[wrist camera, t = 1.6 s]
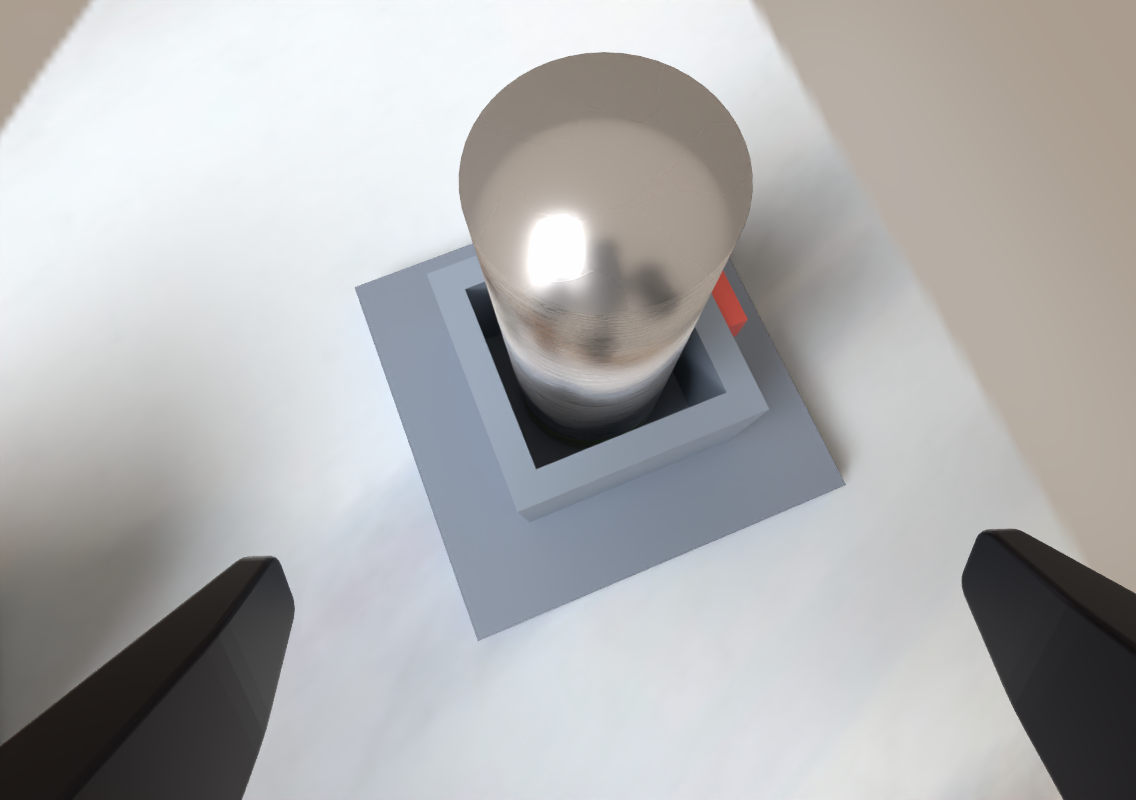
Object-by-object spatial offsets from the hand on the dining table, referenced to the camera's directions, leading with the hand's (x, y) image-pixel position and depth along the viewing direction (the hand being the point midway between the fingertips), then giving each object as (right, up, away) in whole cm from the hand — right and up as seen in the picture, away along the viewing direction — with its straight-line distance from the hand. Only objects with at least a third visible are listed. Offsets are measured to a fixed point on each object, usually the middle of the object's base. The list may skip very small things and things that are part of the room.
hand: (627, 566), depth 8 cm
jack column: (0, +3, +12) cm, 12 cm away
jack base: (0, +2, +13) cm, 13 cm away
